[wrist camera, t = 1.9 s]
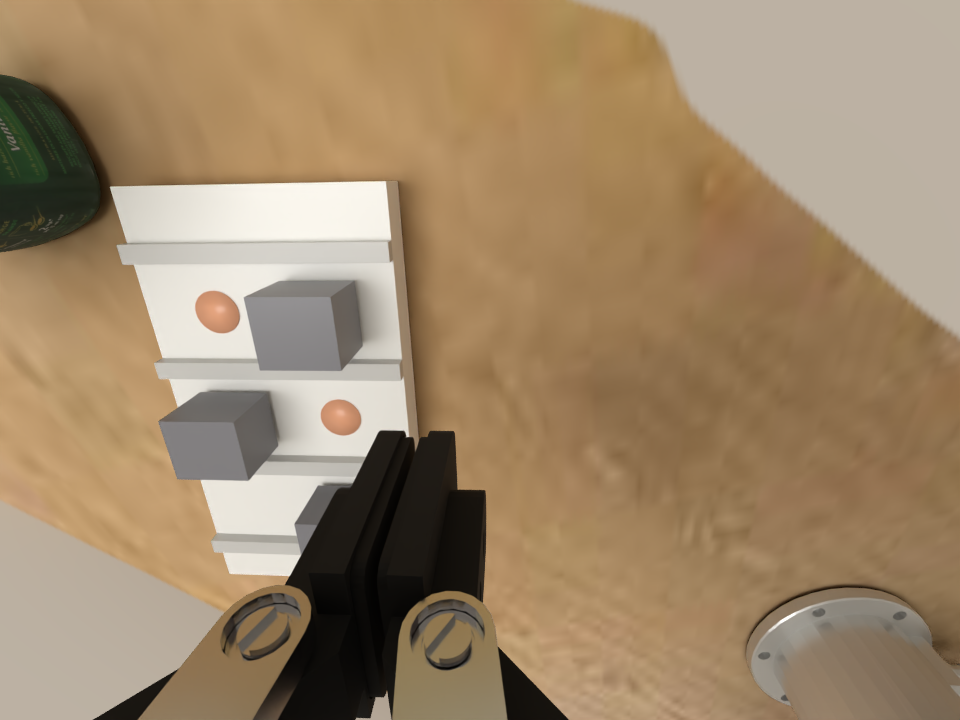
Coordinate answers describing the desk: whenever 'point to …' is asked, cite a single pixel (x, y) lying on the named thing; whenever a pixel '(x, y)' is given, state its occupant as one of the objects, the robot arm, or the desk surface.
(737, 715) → the desk surface
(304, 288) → the tab
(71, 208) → the coffee jar
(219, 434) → the tab
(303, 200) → the switch board
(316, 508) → the tab
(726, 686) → the desk surface
